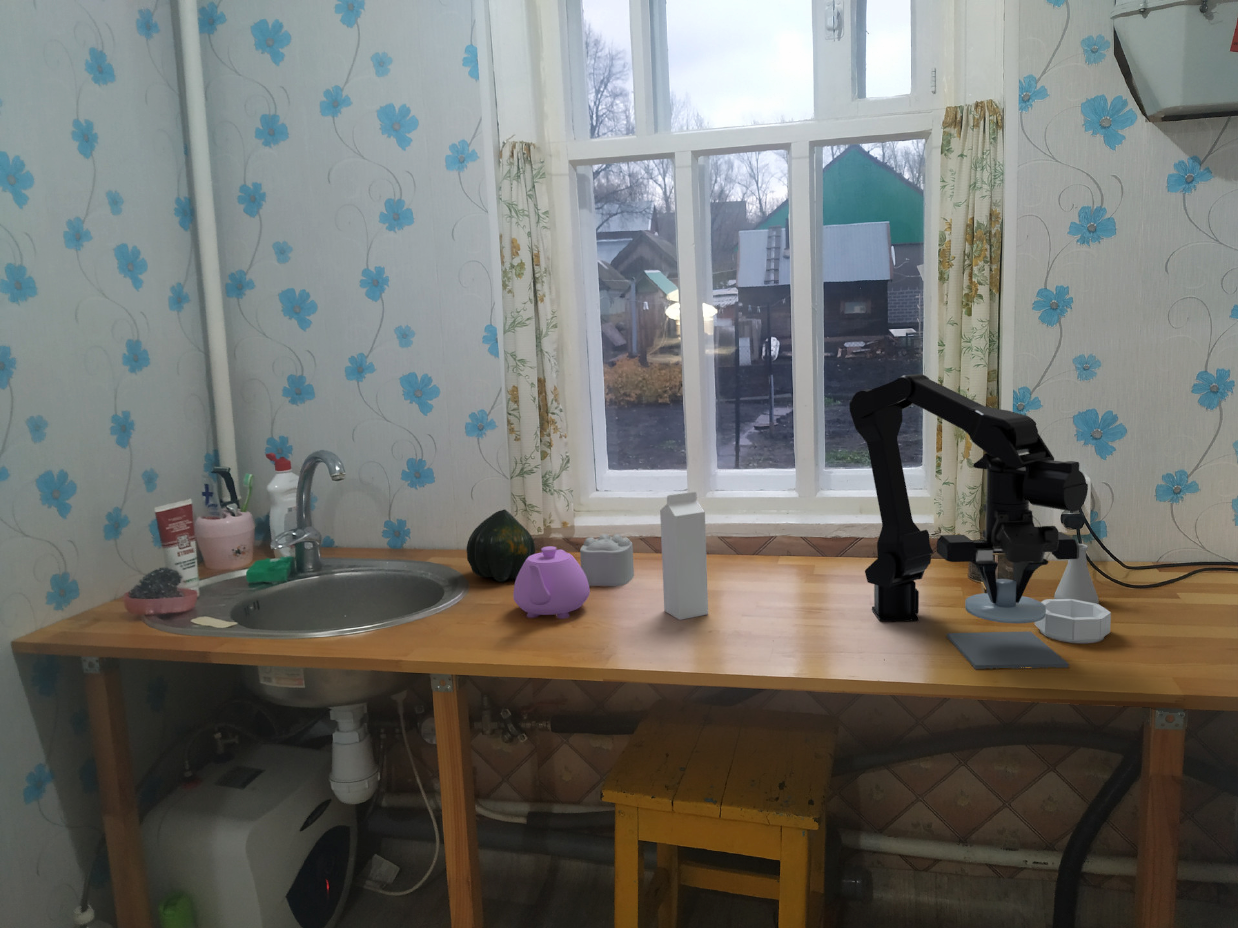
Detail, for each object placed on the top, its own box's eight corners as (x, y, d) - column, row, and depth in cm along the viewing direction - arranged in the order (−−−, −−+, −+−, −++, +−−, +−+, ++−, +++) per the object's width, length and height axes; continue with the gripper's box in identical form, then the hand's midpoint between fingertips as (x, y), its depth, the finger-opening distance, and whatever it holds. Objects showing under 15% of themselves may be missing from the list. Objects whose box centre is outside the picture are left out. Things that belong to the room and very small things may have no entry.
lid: (980, 624, 120) (980, 594, 119) (955, 599, 131) (955, 572, 130) (1059, 622, 119) (1060, 592, 118) (1027, 598, 130) (1028, 570, 129)
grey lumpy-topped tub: (577, 585, 170) (575, 544, 169) (593, 568, 182) (590, 529, 181) (626, 586, 168) (624, 545, 166) (639, 568, 180) (637, 529, 179)
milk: (708, 614, 149) (705, 494, 145) (678, 620, 146) (674, 498, 143) (692, 605, 154) (688, 488, 151) (663, 610, 152) (659, 492, 148)
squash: (468, 567, 167) (509, 505, 171) (445, 555, 180) (483, 498, 184) (520, 602, 173) (559, 542, 177) (494, 588, 186) (531, 532, 190)
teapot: (573, 632, 143) (569, 564, 141) (495, 629, 146) (491, 563, 144) (601, 596, 162) (598, 535, 160) (532, 594, 165) (528, 535, 163)
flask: (1106, 607, 142) (1108, 550, 141) (1060, 606, 144) (1061, 550, 142) (1091, 594, 149) (1093, 540, 148) (1047, 593, 151) (1049, 540, 149)
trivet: (975, 669, 120) (975, 665, 120) (946, 636, 133) (946, 633, 132) (1068, 667, 119) (1068, 663, 119) (1030, 634, 132) (1030, 631, 131)
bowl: (1053, 644, 127) (1054, 620, 127) (1026, 623, 137) (1027, 599, 136) (1119, 643, 126) (1120, 618, 126) (1088, 621, 136) (1089, 598, 135)
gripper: (960, 514, 115) (958, 622, 117) (1100, 510, 114) (1095, 619, 116) (936, 498, 126) (934, 597, 128) (1063, 494, 124) (1059, 594, 127)
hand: (1004, 602), depth 125 cm, fingers closed on lid, 3 cm apart
